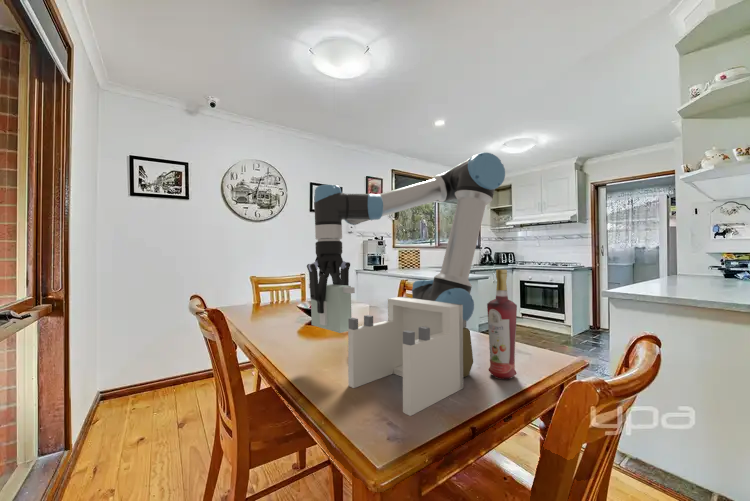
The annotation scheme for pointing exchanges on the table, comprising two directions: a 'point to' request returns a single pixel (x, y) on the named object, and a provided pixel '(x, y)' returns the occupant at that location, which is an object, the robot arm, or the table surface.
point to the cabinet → (410, 350)
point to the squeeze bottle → (467, 351)
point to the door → (335, 308)
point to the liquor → (502, 330)
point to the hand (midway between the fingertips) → (330, 323)
